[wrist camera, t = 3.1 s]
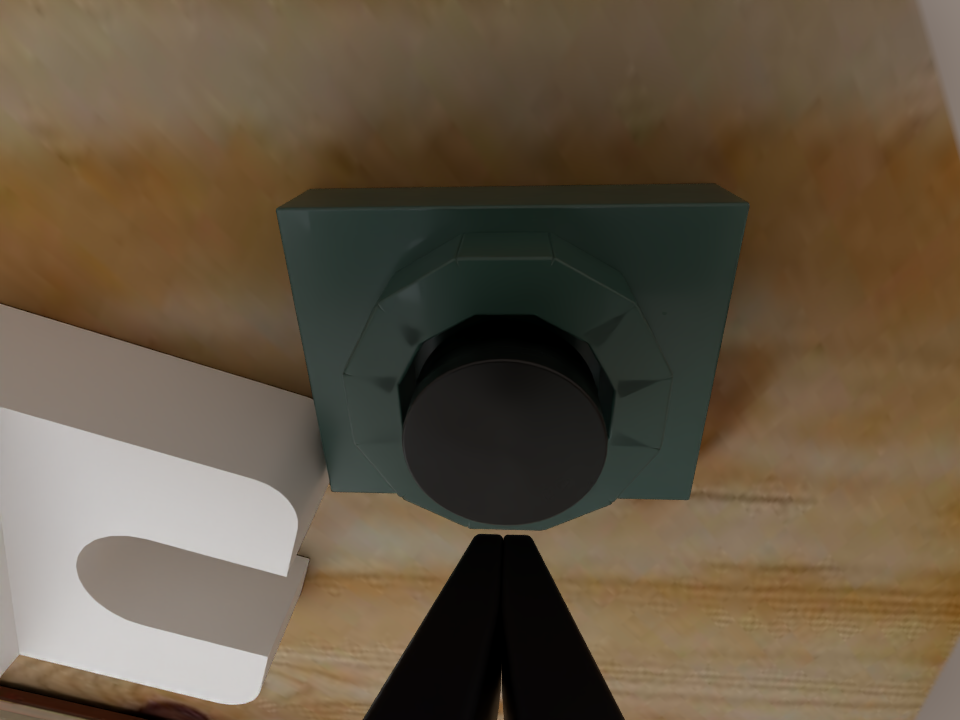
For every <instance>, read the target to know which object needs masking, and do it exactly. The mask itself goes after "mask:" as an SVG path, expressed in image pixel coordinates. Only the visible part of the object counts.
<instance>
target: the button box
mask: <svg viewBox="0 0 960 720" xmlns="http://www.w3.org/2000/svg"><path fill="white" fill-rule="evenodd" d="M749 206H750V205H749V203H748V202H746V201H745V200H743V199H741V198H739V197H738V196H736V195H734V194H733V193H731V192H729V191H727V190H726V189H724V188H722V187H720V186H719V185H717V184H715V183H711V184H636V185H562V186H487V187H413V188H338V189H309V190H307V191H305V192H304V193H302V194H300V195H299V196H297V197H295V198H293V199H292V200H290V201H288V202H287V203H285V204H283V205H281V206H280V207H278V208H276V213H277V219H278V224H279V229H280V234H281V239H282V244H283V249H284V254H285V259H286V264H287V269H288V274H289V279H290V284H291V289H292V294H293V299H294V304H295V310H296V315H297V320H298V325H299V330H300V335H301V340H302V345H303V350H304V355H305V360H306V365H307V370H308V375H309V380H310V385H311V390H312V395H313V401H314V406H315V411H316V416H317V421H318V426H319V431H320V436H321V441H322V446H323V451H324V456H325V461H326V466H327V471H328V476H329V481H330V486H331V491H332V492H361V493H397V494H398V496H400V497H402V498H403V499H404V500H406V501H409V502H411V503H413V504H415V505H418V506H420V507H422V508H424V509H427V510H429V511H431V512H433V513H436V514H438V515H440V516H442V517H445V518H447V519H449V520H451V521H453V522H456V523H458V524H460V525H462V526H465V527H467V526H468V528H470V529H501V530H538V531H541V530H542V529H543V530H546V529H549V528H551V527H554V526H556V525H559V524H562V523H564V522H567V521H569V520H572V519H574V518H577V517H580V516H582V515H585V514H587V513H590V512H592V511H595V510H598V509H600V508H603V507H605V506H608V505H610V504H612V502H614V501H615V500H616V499H617V498H620V499H663V500H689V498H690V494H691V489H692V484H693V479H694V474H695V469H696V464H697V459H698V455H699V450H700V445H701V440H702V435H703V430H704V425H705V420H706V416H707V411H708V406H709V401H710V396H711V391H712V386H713V381H714V377H715V372H716V367H717V362H718V357H719V352H720V347H721V342H722V338H723V333H724V328H725V323H726V318H727V313H728V308H729V303H730V299H731V294H732V289H733V284H734V279H735V274H736V269H737V264H738V260H739V255H740V250H741V245H742V240H743V235H744V230H745V225H746V220H747V216H748V211H749ZM492 321H518V322H524V323H529V324H533V325H536V326H539V327H542V328H544V329H547V330H549V331H551V332H553V333H555V334H557V335H558V336H560V337H561V338H563V339H565V340H566V341H567V342H568V343H569V344H571V345H572V346H573V347H574V348H575V349H576V350H577V351H578V352H579V353H580V354H581V356H582V357H583V359H584V360H585V362H586V363H587V364H588V367H589V369H590V371H591V373H592V375H593V378H594V381H595V385H596V389H597V393H598V397H599V401H600V405H601V409H602V413H603V417H604V421H605V425H606V430H607V437H608V451H607V456H606V461H605V464H604V467H603V470H602V472H601V474H600V476H599V478H598V480H597V481H596V483H595V484H594V486H593V487H592V488H591V490H590V491H589V492H588V493H587V494H586V495H585V496H584V497H583V498H582V499H581V500H580V501H579V502H577V503H576V504H575V505H574V506H572V507H571V508H569V509H567V510H566V511H564V512H562V513H560V514H558V515H556V516H554V517H551V518H548V519H545V520H542V521H539V522H534V523H530V524H523V525H508V526H503V525H491V524H485V523H479V522H476V521H472V520H468V519H466V518H463V517H461V516H458V515H456V514H454V513H452V512H450V511H448V510H446V509H444V508H443V507H441V506H440V505H438V504H437V503H436V502H434V501H433V500H432V499H431V498H430V497H428V496H427V495H426V494H425V493H424V491H423V490H422V489H421V488H420V487H419V486H418V484H417V483H416V482H415V480H414V479H413V477H412V475H411V473H410V471H409V469H408V467H407V464H406V461H405V459H404V454H403V449H402V430H403V424H404V421H405V417H406V414H407V411H408V408H409V405H410V402H411V399H412V395H413V392H414V389H415V386H416V383H417V380H418V377H419V374H420V371H421V369H422V367H423V365H424V363H425V361H426V360H427V358H428V357H429V355H430V354H431V353H432V352H433V351H434V350H435V349H436V347H437V346H438V345H440V344H441V343H442V342H443V341H444V340H446V339H447V338H449V337H450V336H452V335H453V334H455V333H457V332H459V331H461V330H463V329H465V328H468V327H471V326H474V325H477V324H480V323H486V322H492Z"/></svg>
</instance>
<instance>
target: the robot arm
mask: <svg viewBox="0 0 960 720" xmlns="http://www.w3.org/2000/svg"><path fill="white" fill-rule="evenodd" d="M501 671H502V698H503V712H504V720H625V719H624V717H623V715H622V713H621V711H620V709H619V707H618V705H617V704H616V702H615V700H614V698H613V696H612V694H611V692H610V690H609V688H608V686H607V684H606V682H605V680H604V678H603V676H602V674H601V672H600V670H599V668H598V666H597V664H596V662H595V660H594V658H593V657H592V655H591V653H590V651H589V649H588V647H587V645H586V643H585V641H584V639H583V637H582V635H581V633H580V631H579V629H578V627H577V625H576V623H575V621H574V619H573V617H572V615H571V613H570V612H569V610H568V608H567V606H566V604H565V602H564V600H563V598H562V596H561V594H560V592H559V590H558V588H557V586H556V584H555V582H554V580H553V578H552V576H551V574H550V572H549V570H548V568H547V566H546V565H545V563H544V561H543V559H542V557H541V555H540V553H539V551H538V549H537V547H536V545H535V543H534V541H533V539H532V538H531V537H530V536H528V535H506V536H505V537H504V539H503V538H502V536H501V535H498V534H478V535H476V536H475V537H474V538H473V540H472V541H471V543H470V545H469V546H468V548H467V550H466V551H465V553H464V555H463V556H462V558H461V559H460V561H459V563H458V564H457V566H456V568H455V569H454V571H453V573H452V574H451V576H450V577H449V579H448V581H447V582H446V584H445V586H444V587H443V589H442V591H441V592H440V594H439V596H438V597H437V599H436V600H435V602H434V604H433V605H432V607H431V609H430V610H429V612H428V614H427V615H426V617H425V618H424V620H423V622H422V623H421V625H420V627H419V628H418V630H417V632H416V633H415V635H414V636H413V638H412V640H411V641H410V643H409V645H408V646H407V648H406V650H405V651H404V653H403V655H402V656H401V658H400V659H399V661H398V663H397V664H396V666H395V668H394V669H393V671H392V673H391V674H390V676H389V677H388V679H387V681H386V682H385V684H384V686H383V687H382V689H381V691H380V692H379V694H378V696H377V697H376V699H375V700H374V702H373V704H372V705H371V707H370V709H369V710H368V712H367V714H366V715H365V717H364V718H363V720H497V717H498V709H499V700H500V691H501Z"/></svg>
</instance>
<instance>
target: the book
mask: <svg viewBox="0 0 960 720" xmlns="http://www.w3.org/2000/svg"><path fill="white" fill-rule="evenodd" d="M0 720H147V719H143V718H138V717H134V716H130V715H125V714H121V713H116V712H112V711H108V710H103V709H99V708H94V707H90V706H86V705H81V704H77V703H73V702H68V701H64V700H59V699H55V698H51V697H46V696H42V695H37V694H33V693H29V692H24V691H20V690H16V689H11V688H7V687H2V686H0Z"/></svg>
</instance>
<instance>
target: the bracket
mask: <svg viewBox="0 0 960 720" xmlns="http://www.w3.org/2000/svg"><path fill="white" fill-rule="evenodd" d="M328 485H329V476H328V471H327V466H326V461H325V456H324V451H323V446H322V441H321V436H320V431H319V426H318V421H317V416H316V411H315V406H314V401H313V399H311V398H308V397H305V396H302V395H299V394H296V393H292V392H289V391H286V390H282V389H279V388H276V387H273V386H269V385H266V384H263V383H259V382H256V381H253V380H250V379H246V378H243V377H240V376H236V375H233V374H230V373H226V372H223V371H220V370H217V369H213V368H210V367H207V366H203V365H200V364H197V363H194V362H190V361H187V360H184V359H180V358H177V357H174V356H171V355H167V354H164V353H161V352H157V351H154V350H151V349H147V348H144V347H141V346H138V345H134V344H131V343H128V342H124V341H121V340H118V339H115V338H111V337H108V336H105V335H101V334H98V333H95V332H92V331H88V330H85V329H82V328H78V327H75V326H72V325H69V324H65V323H62V322H59V321H55V320H52V319H49V318H45V317H42V316H39V315H36V314H32V313H29V312H26V311H22V310H19V309H16V308H13V307H9V306H6V305H3V304H0V677H1V675H2V674H3V673H4V672H5V671H6V669H7V668H8V667H9V666H10V665H11V664H12V662H13V661H14V660H15V659H16V658H17V657H18V655H19V654H20V655H24V656H28V657H32V658H36V659H40V660H44V661H48V662H52V663H57V664H61V665H65V666H69V667H73V668H77V669H81V670H85V671H89V672H93V673H97V674H102V675H106V676H110V677H114V678H118V679H122V680H126V681H130V682H134V683H138V684H143V685H147V686H151V687H155V688H159V689H163V690H167V691H171V692H175V693H179V694H183V695H188V696H192V697H196V698H200V699H204V700H208V701H212V702H216V703H222V704H227V705H238V704H245V703H248V702H250V701H253V700H254V699H255V698H256V697H257V696H258V694H259V692H260V690H261V688H262V685H263V683H264V681H265V678H266V676H267V673H268V671H269V669H270V666H271V664H272V661H273V659H274V656H275V654H276V652H277V649H278V647H279V644H280V642H281V639H282V637H283V635H284V632H285V630H286V627H287V625H288V623H289V620H290V618H291V615H292V613H293V610H294V608H295V606H296V603H297V601H298V598H299V596H300V594H301V591H302V587H303V583H304V579H305V575H306V571H307V567H308V563H309V560H310V559H309V558H305V557H301V556H298V555H297V553H298V551H299V548H300V546H301V544H302V542H303V540H304V537H305V535H306V533H307V531H308V529H309V526H310V524H311V522H312V520H313V518H314V515H315V513H316V511H317V509H318V507H319V504H320V502H321V500H322V498H323V496H324V493H325V491H326V489H327V487H328Z"/></svg>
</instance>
